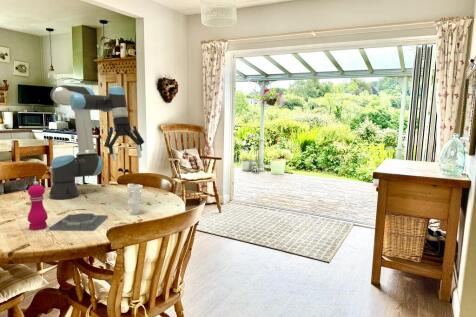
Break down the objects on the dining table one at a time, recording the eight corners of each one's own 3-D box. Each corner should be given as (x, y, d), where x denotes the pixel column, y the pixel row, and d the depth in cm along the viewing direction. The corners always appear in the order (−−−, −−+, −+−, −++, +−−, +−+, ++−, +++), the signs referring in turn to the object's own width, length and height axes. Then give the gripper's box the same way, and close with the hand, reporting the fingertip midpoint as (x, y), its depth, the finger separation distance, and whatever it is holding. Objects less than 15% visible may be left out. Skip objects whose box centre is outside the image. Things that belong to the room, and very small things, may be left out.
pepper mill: (33, 224, 141) (31, 179, 139) (51, 224, 142) (49, 179, 139) (24, 230, 134) (21, 182, 132) (42, 230, 135) (40, 183, 132)
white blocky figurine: (128, 211, 165) (128, 182, 163) (142, 211, 166) (142, 182, 164) (127, 215, 158) (126, 185, 156) (142, 215, 160) (142, 185, 158)
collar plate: (68, 216, 153) (68, 211, 153) (107, 217, 154) (107, 212, 154) (49, 230, 136) (48, 224, 135) (93, 230, 137) (93, 225, 136)
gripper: (98, 116, 152) (106, 161, 151) (146, 115, 169) (153, 155, 169) (92, 119, 157) (99, 163, 157) (139, 118, 175) (146, 157, 175)
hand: (127, 159), depth 163 cm, fingers open, 13 cm apart
